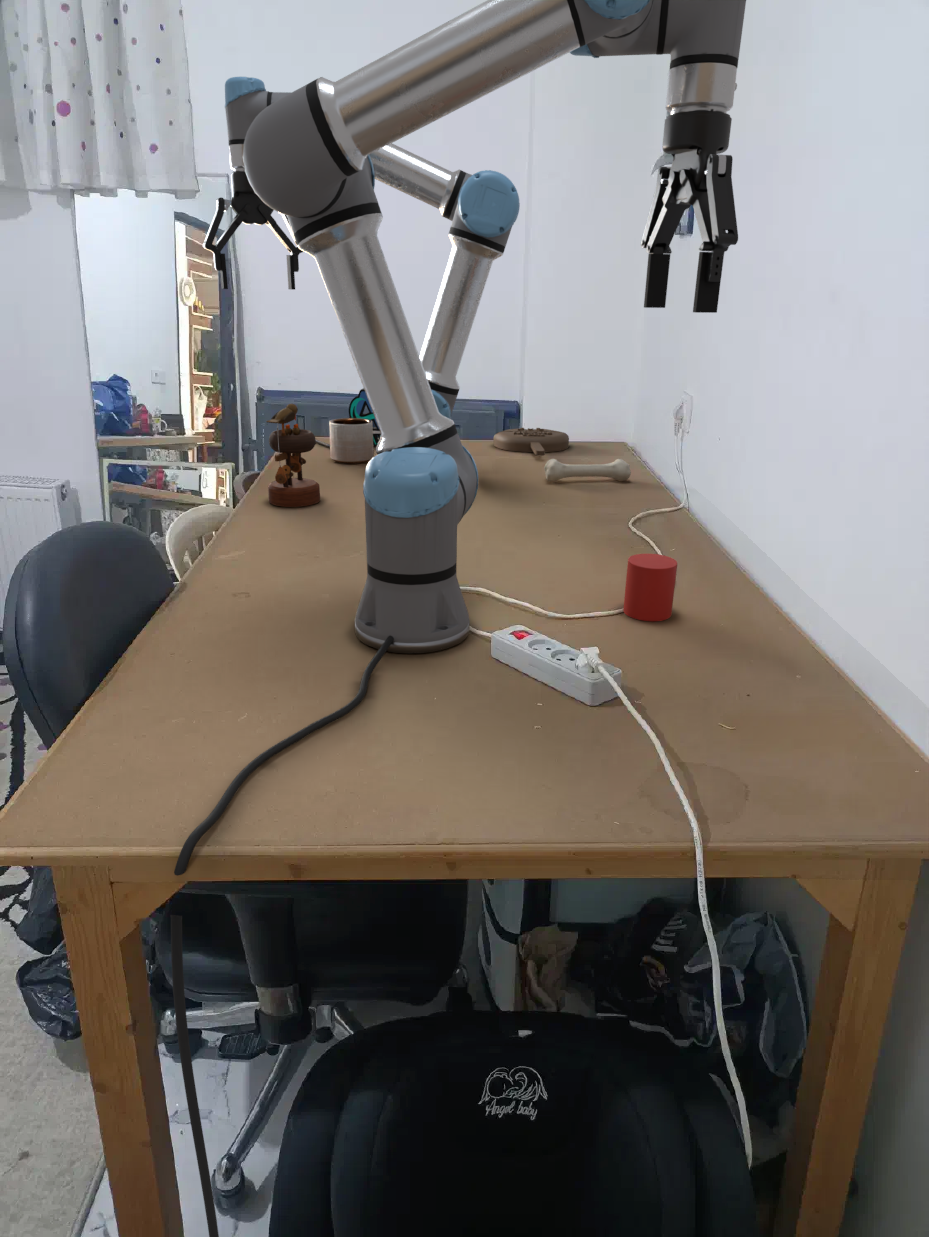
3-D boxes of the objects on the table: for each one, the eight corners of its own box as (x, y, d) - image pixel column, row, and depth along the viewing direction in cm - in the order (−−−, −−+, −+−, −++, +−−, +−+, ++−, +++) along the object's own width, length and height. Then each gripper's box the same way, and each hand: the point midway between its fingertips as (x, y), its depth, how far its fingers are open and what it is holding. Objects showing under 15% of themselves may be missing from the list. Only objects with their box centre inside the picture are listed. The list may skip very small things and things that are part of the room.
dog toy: (623, 476, 201) (625, 455, 199) (632, 482, 195) (634, 461, 193) (540, 478, 198) (541, 457, 196) (547, 484, 192) (548, 462, 190)
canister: (631, 622, 117) (637, 569, 114) (617, 604, 123) (621, 554, 121) (678, 620, 118) (684, 567, 115) (661, 603, 124) (667, 552, 121)
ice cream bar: (499, 460, 215) (500, 444, 214) (491, 440, 241) (491, 425, 240) (581, 461, 216) (582, 444, 215) (564, 441, 242) (565, 426, 241)
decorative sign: (401, 445, 233) (400, 389, 227) (399, 446, 230) (399, 390, 225) (333, 443, 234) (330, 387, 228) (331, 445, 231) (328, 388, 226)
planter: (327, 456, 217) (325, 418, 214) (369, 454, 220) (368, 417, 217) (334, 465, 208) (332, 425, 204) (377, 463, 211) (376, 424, 207)
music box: (312, 509, 169) (298, 407, 161) (260, 512, 170) (243, 411, 162) (332, 491, 183) (320, 396, 175) (283, 493, 184) (269, 399, 176)
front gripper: (790, 96, 87) (759, 315, 95) (678, 131, 109) (661, 306, 117) (724, 91, 85) (698, 314, 93) (624, 128, 108) (611, 305, 116)
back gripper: (186, 166, 156) (198, 289, 164) (318, 174, 166) (323, 290, 174) (181, 169, 162) (192, 288, 170) (308, 177, 172) (313, 289, 180)
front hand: (678, 310), depth 105 cm, fingers open, 13 cm apart
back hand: (258, 289), depth 172 cm, fingers open, 13 cm apart
